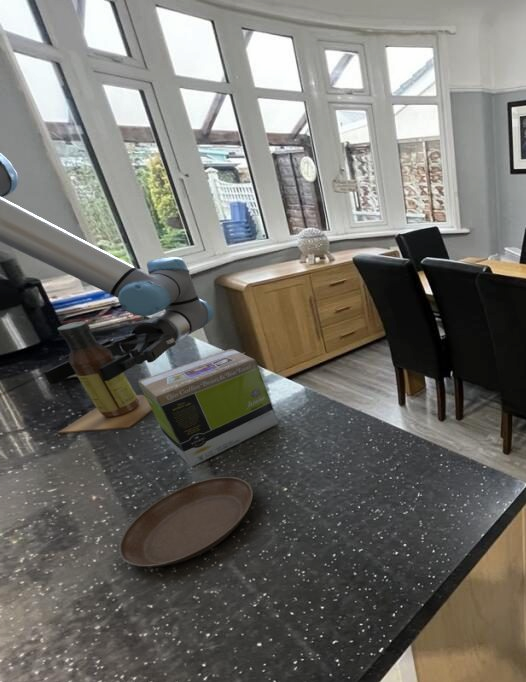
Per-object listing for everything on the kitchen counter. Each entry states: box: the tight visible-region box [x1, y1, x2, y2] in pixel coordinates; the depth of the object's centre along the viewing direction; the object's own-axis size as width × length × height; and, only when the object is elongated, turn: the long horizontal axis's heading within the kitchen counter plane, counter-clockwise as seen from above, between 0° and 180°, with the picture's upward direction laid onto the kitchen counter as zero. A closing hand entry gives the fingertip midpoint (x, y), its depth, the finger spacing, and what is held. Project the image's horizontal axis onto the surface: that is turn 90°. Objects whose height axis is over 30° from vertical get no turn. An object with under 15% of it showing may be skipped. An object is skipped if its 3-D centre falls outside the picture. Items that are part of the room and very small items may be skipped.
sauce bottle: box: [57, 321, 139, 417], centre depth 79 cm, size 7×6×20 cm
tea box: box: [137, 348, 279, 468], centre depth 72 cm, size 15×10×15 cm, turn 145°
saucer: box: [118, 476, 254, 568], centre depth 55 cm, size 15×15×3 cm
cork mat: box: [58, 394, 153, 434], centre depth 84 cm, size 13×13×1 cm
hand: (76, 376), depth 75 cm, fingers open, 9 cm apart
